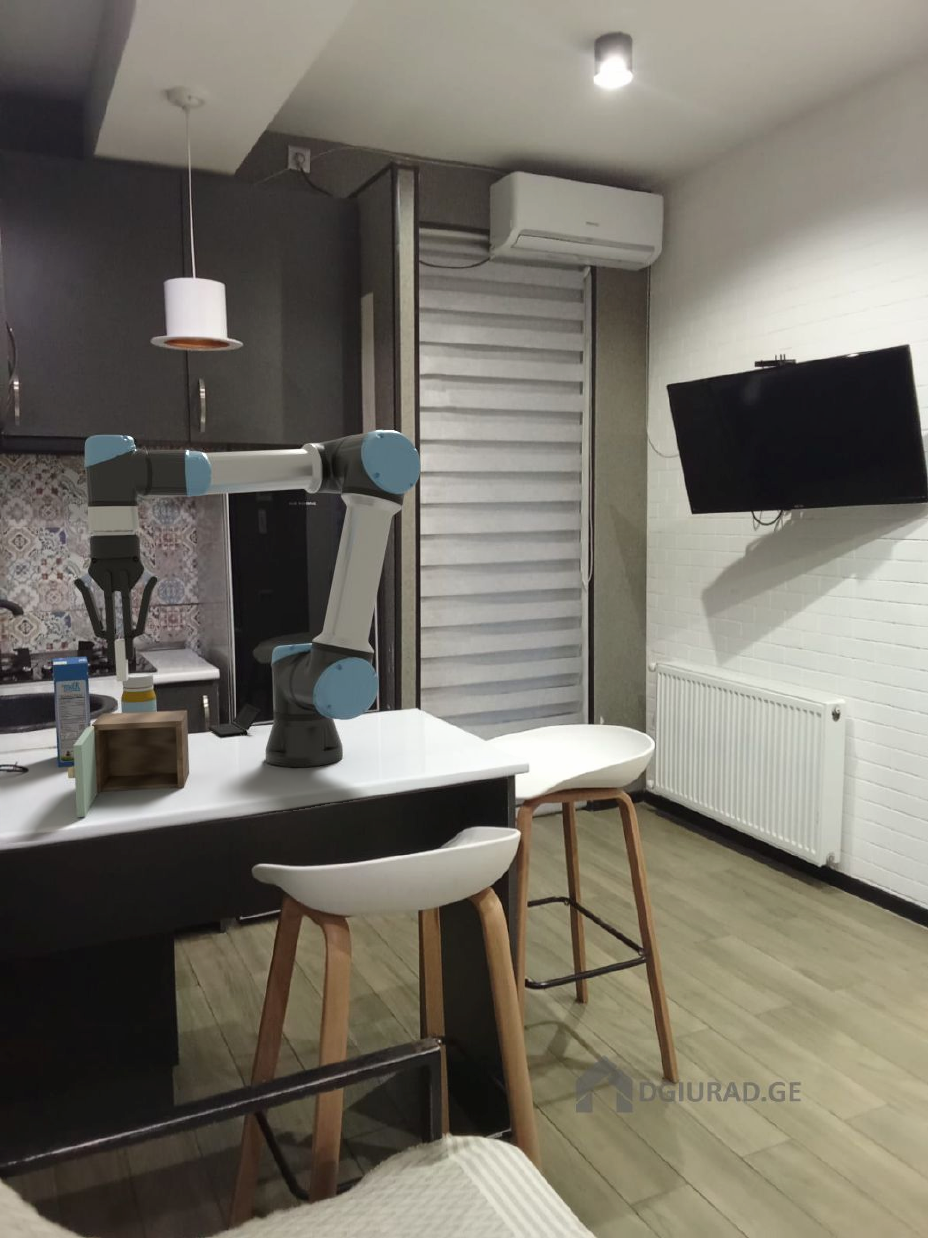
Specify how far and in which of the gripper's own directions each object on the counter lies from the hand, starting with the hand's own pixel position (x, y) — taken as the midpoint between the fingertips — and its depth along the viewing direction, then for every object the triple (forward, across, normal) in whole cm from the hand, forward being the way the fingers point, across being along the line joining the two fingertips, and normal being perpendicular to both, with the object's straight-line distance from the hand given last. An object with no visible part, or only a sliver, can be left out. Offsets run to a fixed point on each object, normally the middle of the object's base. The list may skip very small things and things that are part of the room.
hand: (122, 679), depth 155 cm
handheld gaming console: (+22, -16, -58) cm, 64 cm away
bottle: (+22, +3, -48) cm, 53 cm away
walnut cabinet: (+22, 0, -16) cm, 27 cm away
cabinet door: (+21, +8, -4) cm, 23 cm away
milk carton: (+22, +15, -38) cm, 46 cm away
